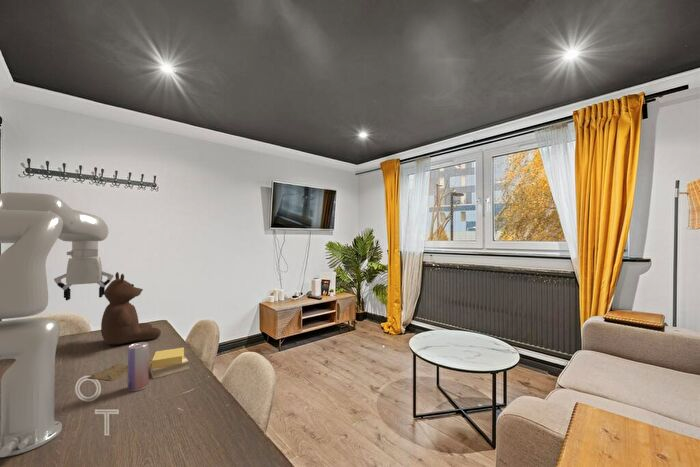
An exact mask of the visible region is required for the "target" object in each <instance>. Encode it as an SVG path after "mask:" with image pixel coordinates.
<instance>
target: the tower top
mask: <svg viewBox="0 0 700 467" xmlns="http://www.w3.org/2000/svg"><path fill="white" fill-rule="evenodd" d="M183 356H185V347H179V348H178V347H176V348H171V349H163V350H156V351H155V353H154V355H153V358H152V359H151V360H152V368H159V367H165V366H171V365H177V364H182V362H183Z"/></svg>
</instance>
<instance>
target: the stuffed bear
mask: <svg viewBox="0 0 700 467" xmlns="http://www.w3.org/2000/svg"><path fill="white" fill-rule="evenodd" d="M114 277H115V279H114V280H111V281H110V282H109V283H108V284H107V285H108V286H107V287H105V294H104V295H103V296H104V297H105V299H106V300H107V301H108V302H109V304H108V305H106V307H105V309H104V311H103V314H102V318H101V322H100V323H101V324H100V327H101V328H100V333H101V336H102V339H103V340H104V341H105V342H106V343H107V344H109V345H116V346H117V345H118V346H119V345H124V344H128V343H134V342H135V343H137V342H144V341H150V340H156V339H159V337H160V336H161V334H162V331H161V329H160V328H157V327H153V324H152V323H149V322H141V323H140V321H139V316H138V312H137V309H136V307H135V305H134V304H132V303H131V302H130V301H132V300H133V299H135V298H136V297H139V296H140V295H141V294H142V292H143V290H144V289H143V288H139V287H135V285H134V284H133V283H130V282H129V281H127V280H125V274H124V273H121V274H120V273H119V272H117V271H116V273H115V276H114Z"/></svg>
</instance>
